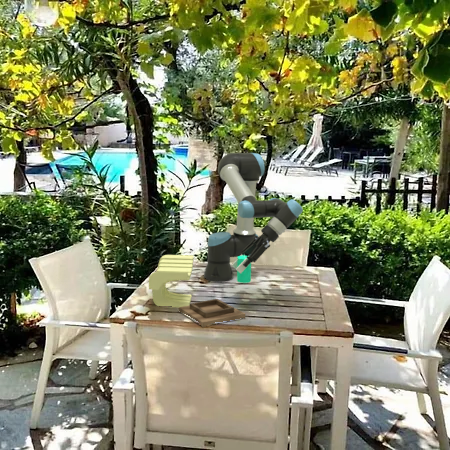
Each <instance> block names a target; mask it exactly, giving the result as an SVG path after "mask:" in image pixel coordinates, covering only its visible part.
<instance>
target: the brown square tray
mask: <svg viewBox="0 0 450 450" xmlns="http://www.w3.org/2000/svg"><path fill="white" fill-rule="evenodd" d="M179 311H180V312H182V313H184V314H186V315H188V316H190V317H191V318H193V319H195V320H196V321H198V322H199V323H201V326H200V327H201V328H207V327H208V326H207V325H208V324H211V323H215V322H223V321H230V320H235V319H240V318H244V319H246V313H245V312H243V311H242V310H240V309H238V308H236V307H233V306H232V305H230V304H228V303H226V302H224V301H222V300H221V299H218V298H215V299H207V300H204V301H203V300H202V301H197V302H190V305H189V306H183V307H178V312H179ZM180 312H179V313H180ZM240 320H241V319H240ZM235 321H236V320H235ZM230 322H231V321H230ZM206 326H207V327H206Z"/></svg>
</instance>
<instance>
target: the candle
mask: <svg viewBox="0 0 450 450" xmlns="http://www.w3.org/2000/svg"><path fill="white" fill-rule="evenodd" d="M248 257H249V256H248ZM236 258H237V259H236V260H237V267H238V266H239V265H240V264H241V263H242V262H243V261H244V260H245V259H246V258H247V256H245V254H244V255H242V256H238V257H236ZM247 259H248V258H247ZM236 272H237V273H236V281H237V282H238V283H241V284H247V283H251V282H252V262H251V263H250V264H249V265H248V266H247V267H246V268H245V270H244V271H243V272H242V273H241V274H240V273H239V272H238V271H237V270H236Z"/></svg>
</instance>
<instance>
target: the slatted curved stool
mask: <svg viewBox="0 0 450 450" xmlns="http://www.w3.org/2000/svg"><path fill="white" fill-rule="evenodd" d="M194 259H195V258H194V255H192V254H191V255H186V254H185V255H184V254H183V255H182V254H165V255H162V256H161V257H160V258H159V260H158V264H157V269H156V271H154V272H152V273H151V274H150V276H149V277H148V290H152V292H151V293H152V301H153V303H154V304H155V306H157V307H159V306H172V307H171V308H179V307H183V306H189V305H190V304H191V303H192V299H191V298H192V296H193V295H192V294H186V293H185V294H184V293H175V292H172V291H169V290H168V289H167V286H166V285H167V283H170V282H176V281H190V279H191V276H192V273H193V266H194Z"/></svg>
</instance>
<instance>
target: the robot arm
mask: <svg viewBox="0 0 450 450" xmlns="http://www.w3.org/2000/svg"><path fill="white" fill-rule="evenodd" d="M265 169H266V168H265V161H264V159H263V157H262V155H261V154H259V153H257V152H256V153H255V152H243V153H242V152H230V153H227V154H225V155H224V156H223V157H221V158H220V160H219V163H218V166H217V171H218V172H217V173H218V175H219V177H220V179H221V180H222V181H225V183H226V185H227V186H228V188H229V190H230V191H231V192H232V194H233V196H234V198H235V200H236V201H237V215H236V228H234V230H233V234H232V233H230V232H228V231H219V232H214V233H211V234H209V236H208V239H207V264H206V266H205V269H204V273H203V278H204V279H205V278H206V279H205V280H207V281H210V282H211V281H212V282H228V281H231V280H233V278H234V272H233V268H234V269H235V270H236V272H237V271H238V272H239V273H240V274H241V273H242V272H243V271H244V270H245V268H246V267H247V266H248V265H249V264H250V263H251V264H252V263H256V262H257V260H258V259H259V258H260V257H261V256H262V255H263V254H264V253H265V251H267V250H268V249H269V248H270V247H271V244H270V242H272V243H275V242H276V240H278V238H279V236H282V234H283V233H285V232H286V230H287V229H288V228H289V227H290V226H291V225H292V224H293V223H294V222H295V221H296V220H297V219H298V218H299V216H300V215H301V214H302V213H303V211H304V209H303V206H301V205H300V203H299V202H297V201H296V200H295V199H289V200H288V201H287V202H286V201H284V200H282V199H280V198H276V197H273V198H270V199H269V200H268V199H267V200H261V199H260V200H258V199H257V198H256V190H257V189H256V187H257V183H258V182H260V177H263V176H264V174H265ZM255 218H271V219H270V220H269V221H268V222H267V224H266V225H264V227H263V228H262V229H261V230H260V232H261V235H258V234H257V233H256V232H257V231H256V230H255V229H254V221H255V220H254V219H255ZM244 254H245V256H247V258H248V259H247V258H246V259H245V260H244V261H243V262H242V263H241V264H240V265H239V266H238V267H237V259H236V260H235V261H233V263H232V264H231V258H237V257H238V256H242V255H244ZM248 256H249V257H248ZM232 267H233V268H232Z"/></svg>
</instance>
